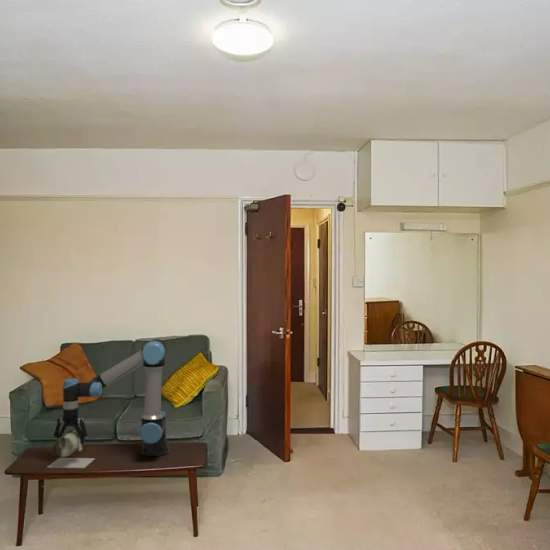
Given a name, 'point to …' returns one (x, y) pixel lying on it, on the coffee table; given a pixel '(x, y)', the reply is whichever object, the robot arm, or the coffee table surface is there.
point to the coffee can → (67, 444)
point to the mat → (71, 463)
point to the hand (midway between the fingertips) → (70, 450)
